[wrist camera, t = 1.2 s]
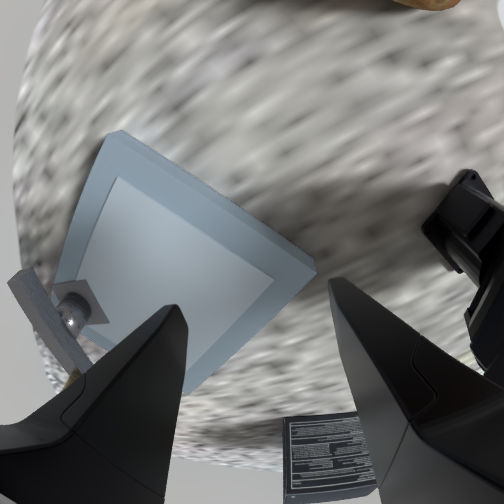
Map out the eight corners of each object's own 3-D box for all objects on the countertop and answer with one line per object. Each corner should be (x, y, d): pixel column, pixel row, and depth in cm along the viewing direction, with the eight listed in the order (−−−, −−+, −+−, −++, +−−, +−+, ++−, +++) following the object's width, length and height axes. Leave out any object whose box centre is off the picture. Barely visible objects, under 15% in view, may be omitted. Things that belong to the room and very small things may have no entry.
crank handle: (58, 245, 19) (-24, 328, 10) (120, 354, 24) (80, 444, 15) (37, 252, 19) (-39, 328, 11) (97, 354, 24) (57, 437, 16)
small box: (281, 438, 35) (281, 506, 25) (282, 415, 32) (282, 495, 22) (358, 432, 34) (368, 497, 25) (369, 408, 31) (383, 483, 22)
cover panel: (313, 258, 21) (317, 275, 19) (192, 379, 29) (188, 396, 27) (120, 129, 17) (104, 133, 15) (57, 297, 25) (45, 311, 23)
